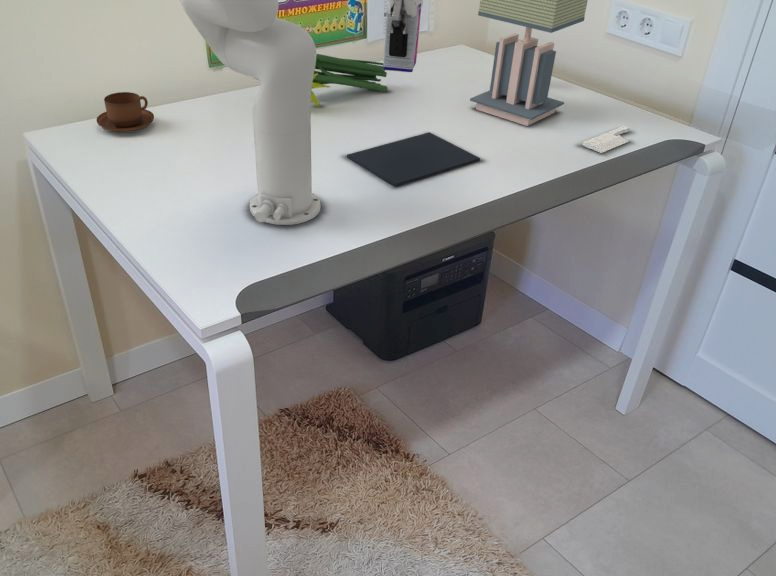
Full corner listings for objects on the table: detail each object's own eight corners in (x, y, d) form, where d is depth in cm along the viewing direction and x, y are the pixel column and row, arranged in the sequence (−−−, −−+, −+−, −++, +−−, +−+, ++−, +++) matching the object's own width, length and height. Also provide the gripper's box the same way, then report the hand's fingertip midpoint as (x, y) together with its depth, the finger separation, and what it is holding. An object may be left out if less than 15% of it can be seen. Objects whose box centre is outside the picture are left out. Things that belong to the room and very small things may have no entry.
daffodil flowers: (403, 105, 173) (276, 89, 153) (367, 120, 185) (244, 107, 165) (399, 33, 172) (270, 7, 152) (362, 53, 184) (238, 31, 164)
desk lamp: (466, 108, 171) (484, -48, 150) (499, 93, 179) (521, -56, 158) (532, 129, 161) (562, -34, 141) (565, 113, 169) (597, -43, 149)
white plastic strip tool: (641, 136, 159) (643, 131, 158) (601, 153, 152) (602, 148, 151) (622, 129, 162) (623, 124, 161) (581, 145, 155) (582, 140, 154)
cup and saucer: (119, 113, 163) (114, 85, 159) (165, 120, 160) (161, 92, 156) (86, 132, 154) (80, 103, 150) (135, 140, 151) (130, 111, 147)
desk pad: (395, 187, 137) (395, 184, 137) (346, 157, 147) (346, 154, 147) (479, 160, 147) (480, 158, 147) (429, 134, 157) (429, 132, 157)
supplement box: (413, 72, 134) (418, 6, 126) (382, 70, 134) (384, 3, 127) (417, 63, 138) (422, -2, 131) (387, 60, 139) (390, -4, 132)
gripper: (421, -48, 116) (412, 67, 127) (437, -66, 129) (428, 40, 140) (375, -52, 117) (371, 62, 128) (396, -69, 130) (390, 36, 142)
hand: (401, 50), depth 134 cm, fingers closed on supplement box, 5 cm apart
